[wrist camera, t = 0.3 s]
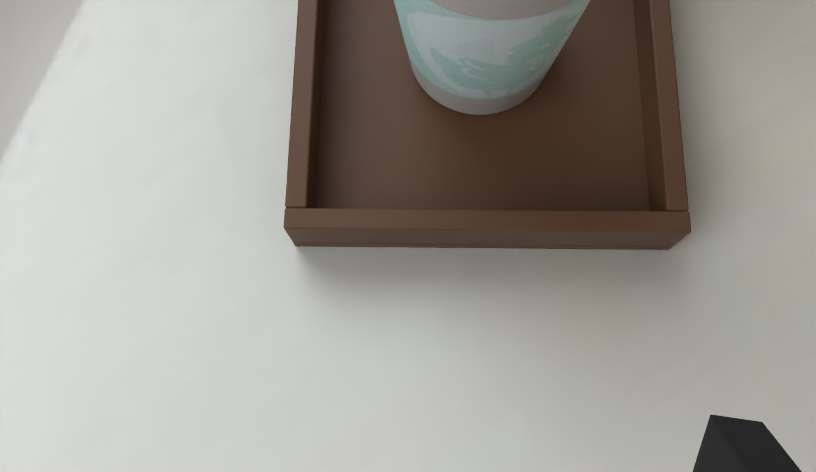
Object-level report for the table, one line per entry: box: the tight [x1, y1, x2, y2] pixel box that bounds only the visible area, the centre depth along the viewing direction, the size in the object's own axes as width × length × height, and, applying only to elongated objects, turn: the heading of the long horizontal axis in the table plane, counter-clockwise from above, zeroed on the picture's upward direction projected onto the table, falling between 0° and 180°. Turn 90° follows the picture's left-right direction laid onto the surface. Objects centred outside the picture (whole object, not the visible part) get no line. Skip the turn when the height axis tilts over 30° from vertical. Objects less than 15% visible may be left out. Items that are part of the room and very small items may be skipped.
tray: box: [284, 0, 691, 250], centre depth 30 cm, size 17×15×2 cm
